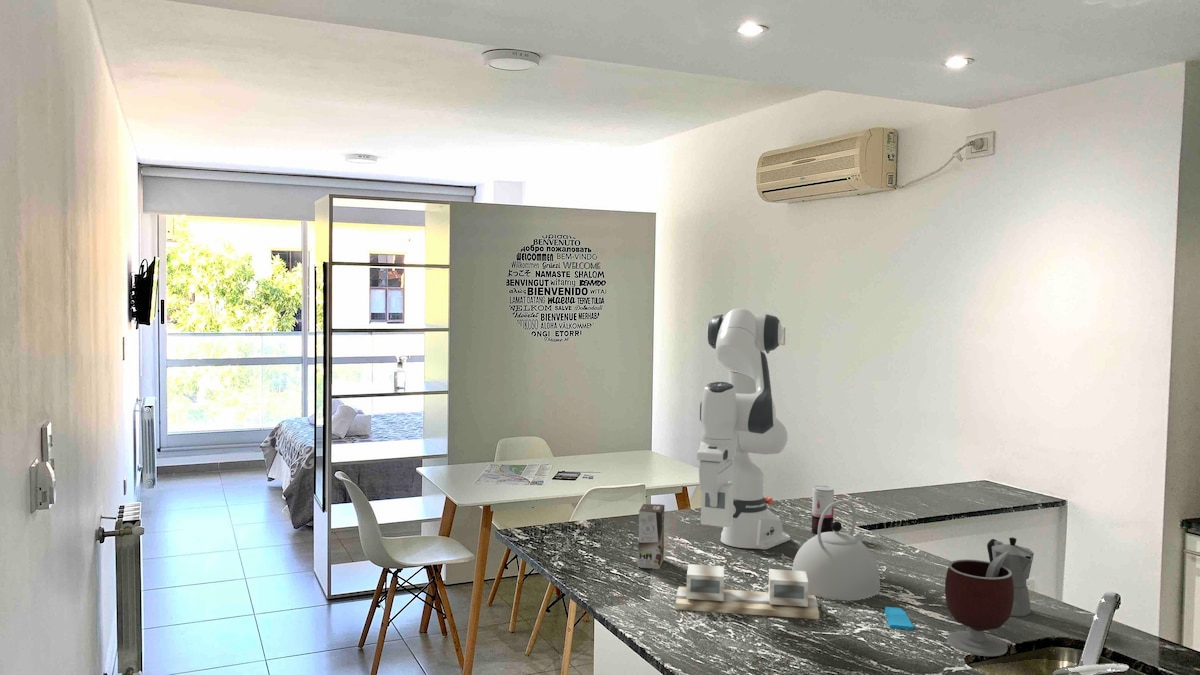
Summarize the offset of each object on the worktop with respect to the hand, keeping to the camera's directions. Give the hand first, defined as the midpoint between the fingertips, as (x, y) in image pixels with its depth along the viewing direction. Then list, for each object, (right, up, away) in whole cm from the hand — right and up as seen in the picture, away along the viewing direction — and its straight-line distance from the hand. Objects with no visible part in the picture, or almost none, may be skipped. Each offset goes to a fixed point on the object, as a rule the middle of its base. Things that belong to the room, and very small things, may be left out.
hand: (717, 503), depth 215 cm
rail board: (+7, -25, -2) cm, 26 cm away
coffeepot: (+71, -26, -2) cm, 76 cm away
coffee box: (-15, -23, +29) cm, 40 cm away
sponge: (+42, -26, -10) cm, 50 cm away
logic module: (0, -5, 0) cm, 5 cm away
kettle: (+34, -25, +14) cm, 44 cm away
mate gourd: (+55, -27, -24) cm, 66 cm away
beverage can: (+42, -22, +61) cm, 77 cm away
